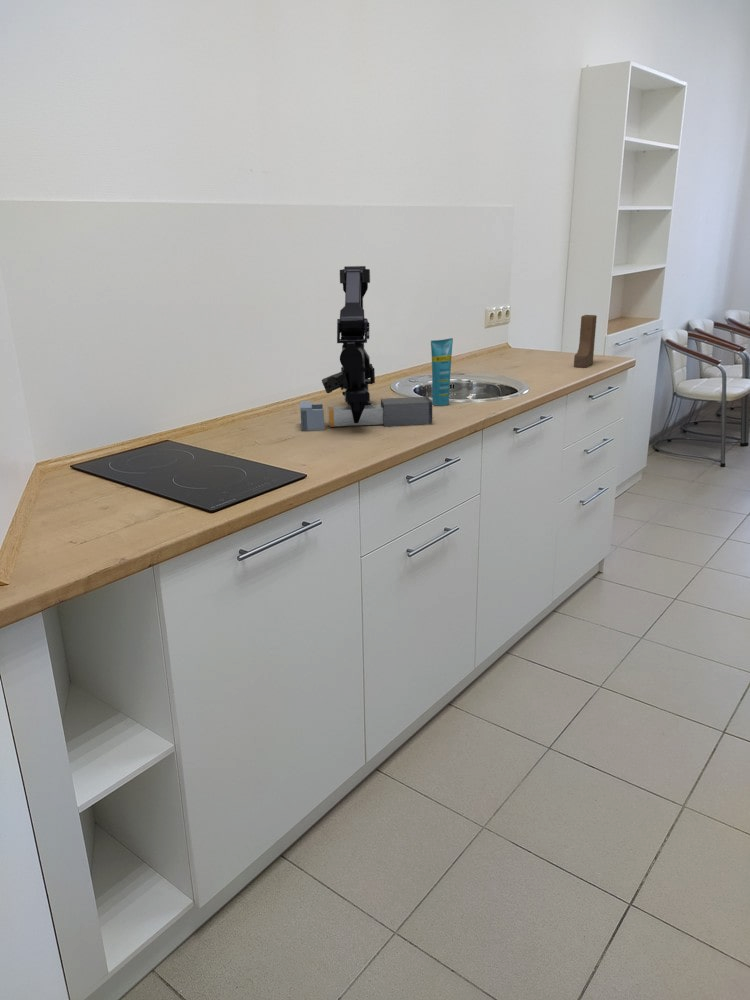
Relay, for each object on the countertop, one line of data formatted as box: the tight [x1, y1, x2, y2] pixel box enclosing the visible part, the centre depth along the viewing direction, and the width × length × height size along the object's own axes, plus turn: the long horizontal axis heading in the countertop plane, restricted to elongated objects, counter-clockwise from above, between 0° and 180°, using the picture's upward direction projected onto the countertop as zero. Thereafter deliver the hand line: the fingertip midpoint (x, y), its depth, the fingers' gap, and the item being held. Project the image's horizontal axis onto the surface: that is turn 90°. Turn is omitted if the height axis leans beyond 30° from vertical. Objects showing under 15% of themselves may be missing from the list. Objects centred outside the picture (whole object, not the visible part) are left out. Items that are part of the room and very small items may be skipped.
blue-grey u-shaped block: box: [299, 400, 325, 432], centre depth 196 cm, size 8×6×6 cm
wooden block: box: [573, 314, 598, 369], centre depth 270 cm, size 9×4×18 cm, turn 147°
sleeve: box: [380, 396, 433, 427], centre depth 199 cm, size 7×13×6 cm, turn 97°
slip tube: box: [327, 404, 384, 428], centre depth 198 cm, size 4×22×4 cm, turn 97°
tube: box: [430, 337, 454, 407], centre depth 216 cm, size 7×5×19 cm, turn 123°
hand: (355, 420), depth 198 cm, fingers closed on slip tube, 4 cm apart
